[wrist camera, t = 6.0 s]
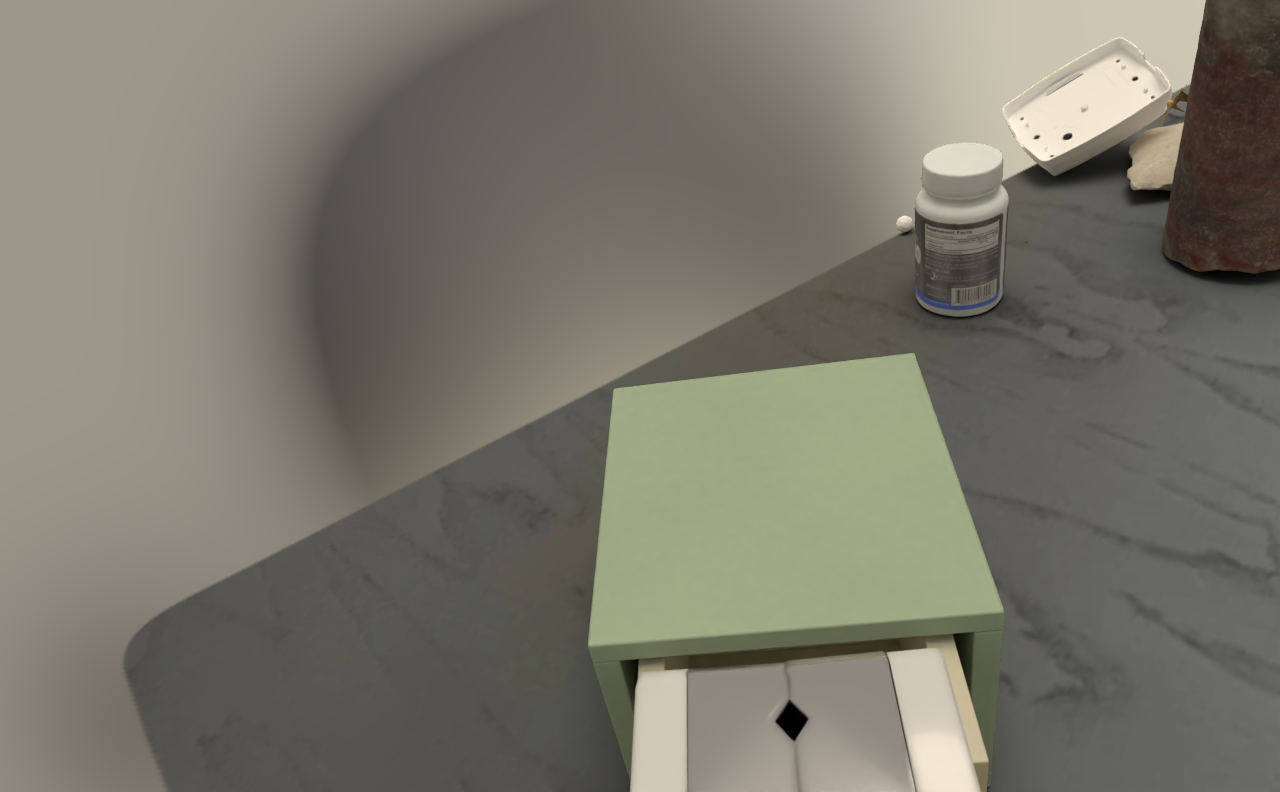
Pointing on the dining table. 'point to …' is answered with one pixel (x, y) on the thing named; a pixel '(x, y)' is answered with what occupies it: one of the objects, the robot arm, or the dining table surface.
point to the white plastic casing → (1088, 106)
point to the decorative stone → (1155, 158)
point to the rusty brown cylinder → (1230, 145)
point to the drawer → (784, 654)
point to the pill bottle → (961, 230)
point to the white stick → (905, 224)
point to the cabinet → (786, 526)
